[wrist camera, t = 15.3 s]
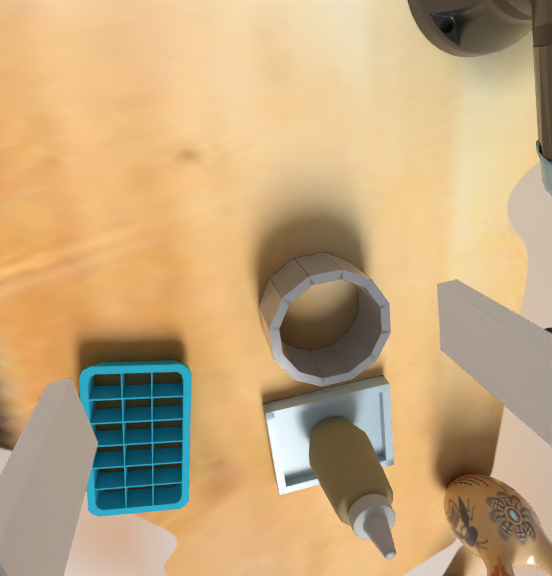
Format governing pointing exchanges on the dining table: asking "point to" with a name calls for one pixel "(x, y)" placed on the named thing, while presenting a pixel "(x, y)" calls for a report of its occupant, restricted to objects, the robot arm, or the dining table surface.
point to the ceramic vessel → (496, 525)
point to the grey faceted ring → (345, 351)
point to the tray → (315, 407)
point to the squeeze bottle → (353, 480)
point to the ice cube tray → (138, 440)
